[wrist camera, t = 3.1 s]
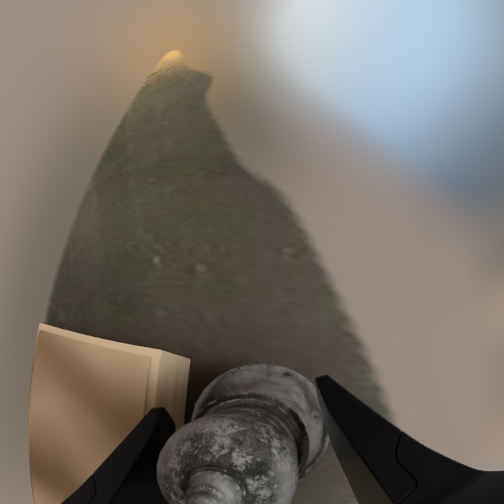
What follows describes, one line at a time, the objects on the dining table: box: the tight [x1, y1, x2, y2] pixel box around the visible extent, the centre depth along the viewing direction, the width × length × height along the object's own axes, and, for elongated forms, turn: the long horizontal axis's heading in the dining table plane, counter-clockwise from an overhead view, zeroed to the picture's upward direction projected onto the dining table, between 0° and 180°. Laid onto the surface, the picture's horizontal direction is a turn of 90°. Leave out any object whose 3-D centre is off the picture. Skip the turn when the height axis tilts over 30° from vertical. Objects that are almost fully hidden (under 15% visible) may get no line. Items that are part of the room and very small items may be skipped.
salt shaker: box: [156, 363, 329, 504], centre depth 8 cm, size 6×6×12 cm
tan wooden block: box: [28, 323, 191, 504], centre depth 10 cm, size 20×8×4 cm, turn 175°
